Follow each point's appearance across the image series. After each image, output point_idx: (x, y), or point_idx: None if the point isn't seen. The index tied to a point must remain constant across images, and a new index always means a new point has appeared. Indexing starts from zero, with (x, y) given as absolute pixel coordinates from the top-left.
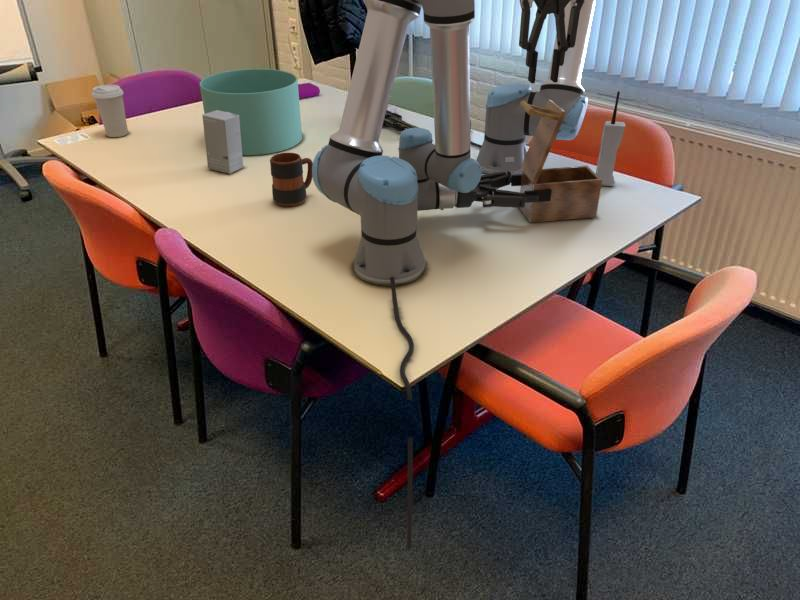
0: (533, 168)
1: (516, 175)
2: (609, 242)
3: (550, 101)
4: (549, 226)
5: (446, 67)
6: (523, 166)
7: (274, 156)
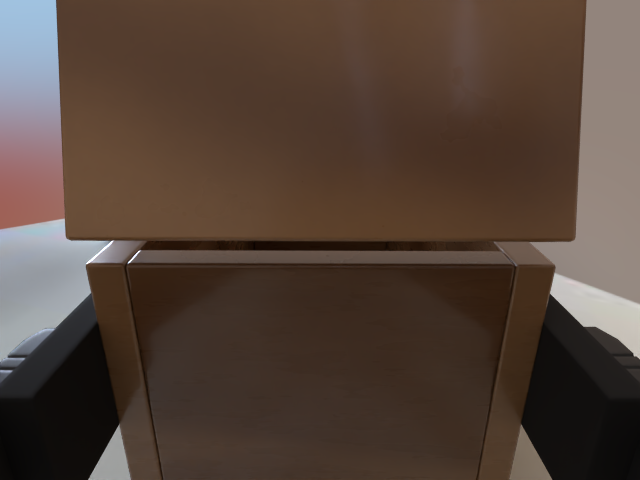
0: (445, 92)
1: (47, 360)
2: (612, 313)
3: None
4: (518, 468)
5: None
6: (129, 190)
7: None
